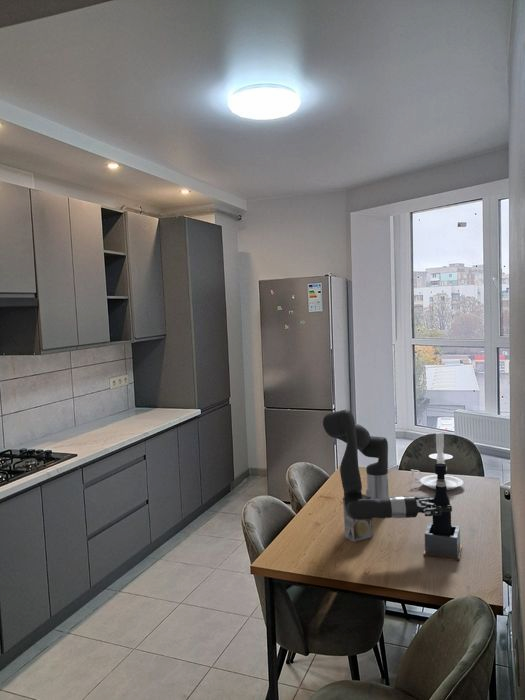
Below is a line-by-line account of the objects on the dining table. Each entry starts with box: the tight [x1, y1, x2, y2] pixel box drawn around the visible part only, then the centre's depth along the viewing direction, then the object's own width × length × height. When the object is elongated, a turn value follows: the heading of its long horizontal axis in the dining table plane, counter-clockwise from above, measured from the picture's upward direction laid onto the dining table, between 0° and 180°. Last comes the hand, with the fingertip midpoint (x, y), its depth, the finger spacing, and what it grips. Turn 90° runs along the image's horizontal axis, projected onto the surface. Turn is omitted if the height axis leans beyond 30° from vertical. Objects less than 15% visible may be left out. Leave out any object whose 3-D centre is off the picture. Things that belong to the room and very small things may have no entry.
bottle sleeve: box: [422, 522, 463, 562], centre depth 194 cm, size 12×12×8 cm
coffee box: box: [342, 493, 374, 543], centre depth 210 cm, size 9×6×16 cm
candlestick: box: [410, 432, 465, 491], centre depth 264 cm, size 21×25×28 cm
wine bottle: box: [432, 463, 452, 536], centre depth 193 cm, size 6×6×30 cm
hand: (447, 504), depth 193 cm, fingers open, 6 cm apart
